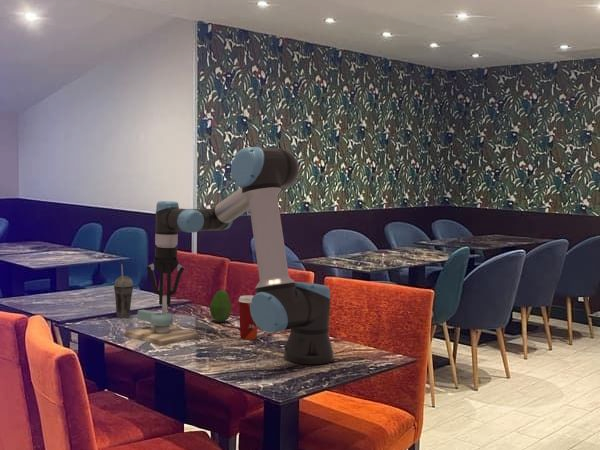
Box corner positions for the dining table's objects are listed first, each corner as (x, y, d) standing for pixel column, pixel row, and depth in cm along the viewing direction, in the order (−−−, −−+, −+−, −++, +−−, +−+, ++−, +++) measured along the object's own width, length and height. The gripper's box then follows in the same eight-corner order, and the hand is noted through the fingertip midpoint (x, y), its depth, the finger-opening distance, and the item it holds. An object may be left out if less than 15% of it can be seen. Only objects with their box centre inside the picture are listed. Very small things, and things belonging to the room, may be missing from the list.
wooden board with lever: (197, 337, 232) (198, 325, 232) (161, 345, 219) (161, 333, 219) (161, 328, 243) (162, 317, 243) (125, 335, 230) (125, 323, 230)
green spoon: (176, 324, 232) (177, 315, 231) (160, 327, 226) (161, 318, 226) (148, 317, 240) (148, 308, 240) (132, 320, 235) (132, 311, 235)
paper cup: (256, 341, 230) (257, 299, 229) (234, 339, 231) (235, 298, 230) (262, 336, 237) (263, 295, 236) (240, 334, 239) (242, 294, 238)
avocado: (231, 319, 262) (232, 288, 261) (230, 324, 254) (231, 292, 253) (210, 319, 261) (211, 287, 260) (208, 323, 254) (209, 291, 253)
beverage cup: (137, 316, 260) (138, 264, 259) (122, 319, 254) (123, 265, 253) (123, 314, 264) (124, 262, 263) (108, 316, 258) (109, 263, 256)
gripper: (186, 245, 241) (184, 312, 243) (148, 244, 240) (146, 311, 242) (184, 248, 234) (182, 316, 235) (145, 246, 232) (144, 316, 234)
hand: (164, 314), depth 239 cm, fingers closed
